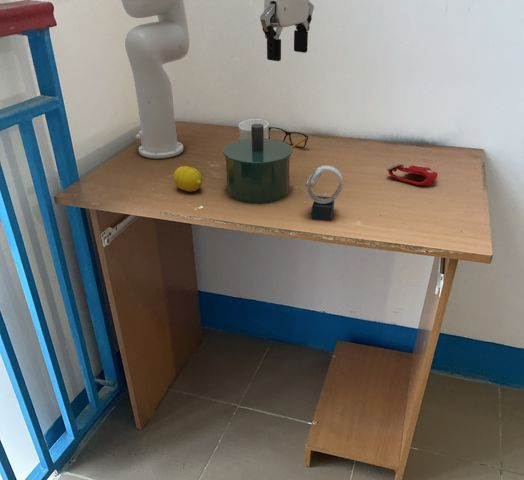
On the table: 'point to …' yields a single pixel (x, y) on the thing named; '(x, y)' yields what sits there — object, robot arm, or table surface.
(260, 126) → the lid
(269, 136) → the eyeglasses
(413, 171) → the tracker holder
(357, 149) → the table surface
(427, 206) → the table surface
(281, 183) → the pot
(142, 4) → the robot arm
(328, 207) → the watch
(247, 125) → the white cup
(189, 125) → the table surface
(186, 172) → the lemon
